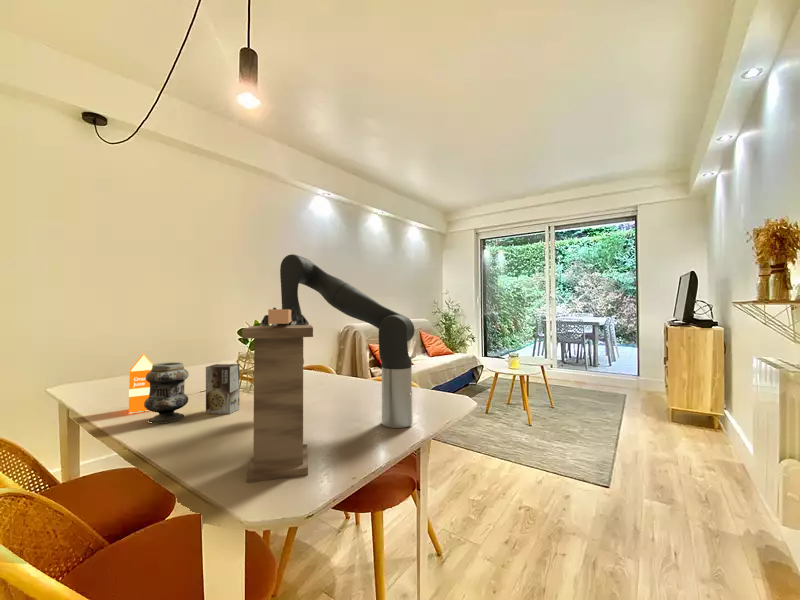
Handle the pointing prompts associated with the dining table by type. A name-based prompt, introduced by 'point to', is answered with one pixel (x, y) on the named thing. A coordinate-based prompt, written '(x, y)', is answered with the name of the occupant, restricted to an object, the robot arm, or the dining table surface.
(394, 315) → the robot arm
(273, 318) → the block
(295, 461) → the stand
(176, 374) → the apothecary jar
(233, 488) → the dining table surface
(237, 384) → the coffee box
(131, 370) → the orange juice
